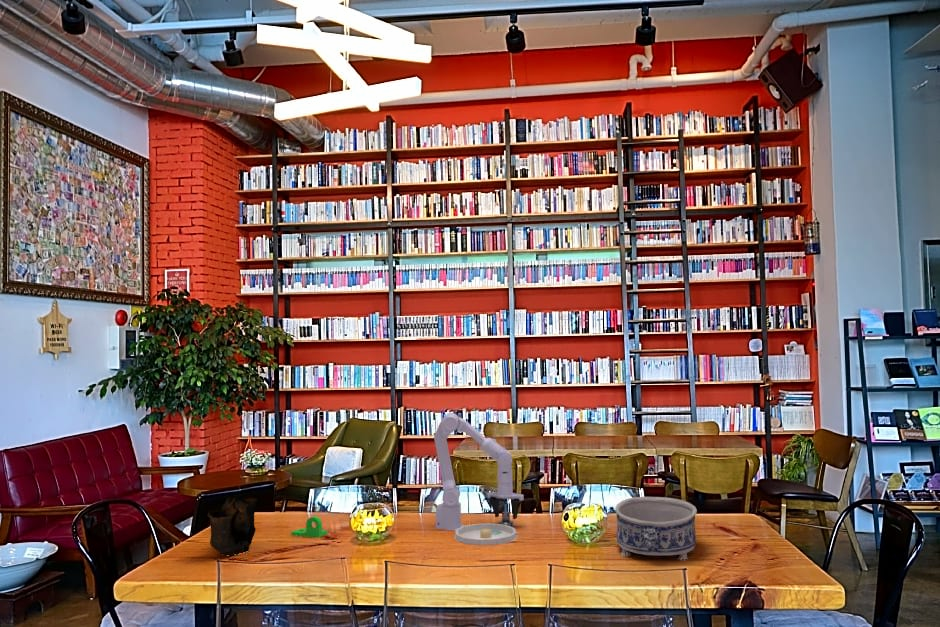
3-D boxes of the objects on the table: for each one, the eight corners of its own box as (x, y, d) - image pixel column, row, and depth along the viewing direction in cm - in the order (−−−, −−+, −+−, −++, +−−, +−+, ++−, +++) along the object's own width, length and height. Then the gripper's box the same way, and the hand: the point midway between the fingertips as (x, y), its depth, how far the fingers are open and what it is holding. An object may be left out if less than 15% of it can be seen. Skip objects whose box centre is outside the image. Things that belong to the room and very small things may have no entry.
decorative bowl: (623, 532, 269) (621, 491, 270) (698, 536, 262) (696, 494, 262) (610, 567, 229) (609, 519, 229) (698, 573, 221) (696, 524, 222)
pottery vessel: (237, 543, 265) (236, 489, 266) (265, 544, 263) (264, 489, 264) (200, 565, 240) (200, 504, 241) (231, 566, 238) (230, 505, 239)
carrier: (443, 543, 260) (442, 534, 260) (472, 527, 280) (471, 519, 280) (501, 550, 249) (501, 541, 249) (527, 533, 270) (526, 525, 270)
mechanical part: (327, 535, 274) (327, 514, 275) (319, 539, 269) (318, 517, 269) (299, 533, 278) (299, 512, 279) (291, 537, 273) (290, 516, 273)
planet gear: (495, 527, 279) (495, 513, 280) (502, 524, 285) (501, 510, 285) (509, 529, 277) (509, 514, 277) (516, 525, 282) (515, 511, 282)
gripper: (483, 483, 281) (484, 518, 280) (518, 485, 274) (519, 521, 274) (491, 479, 287) (492, 514, 287) (525, 482, 281) (526, 517, 280)
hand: (506, 517), depth 281 cm, fingers open, 7 cm apart
